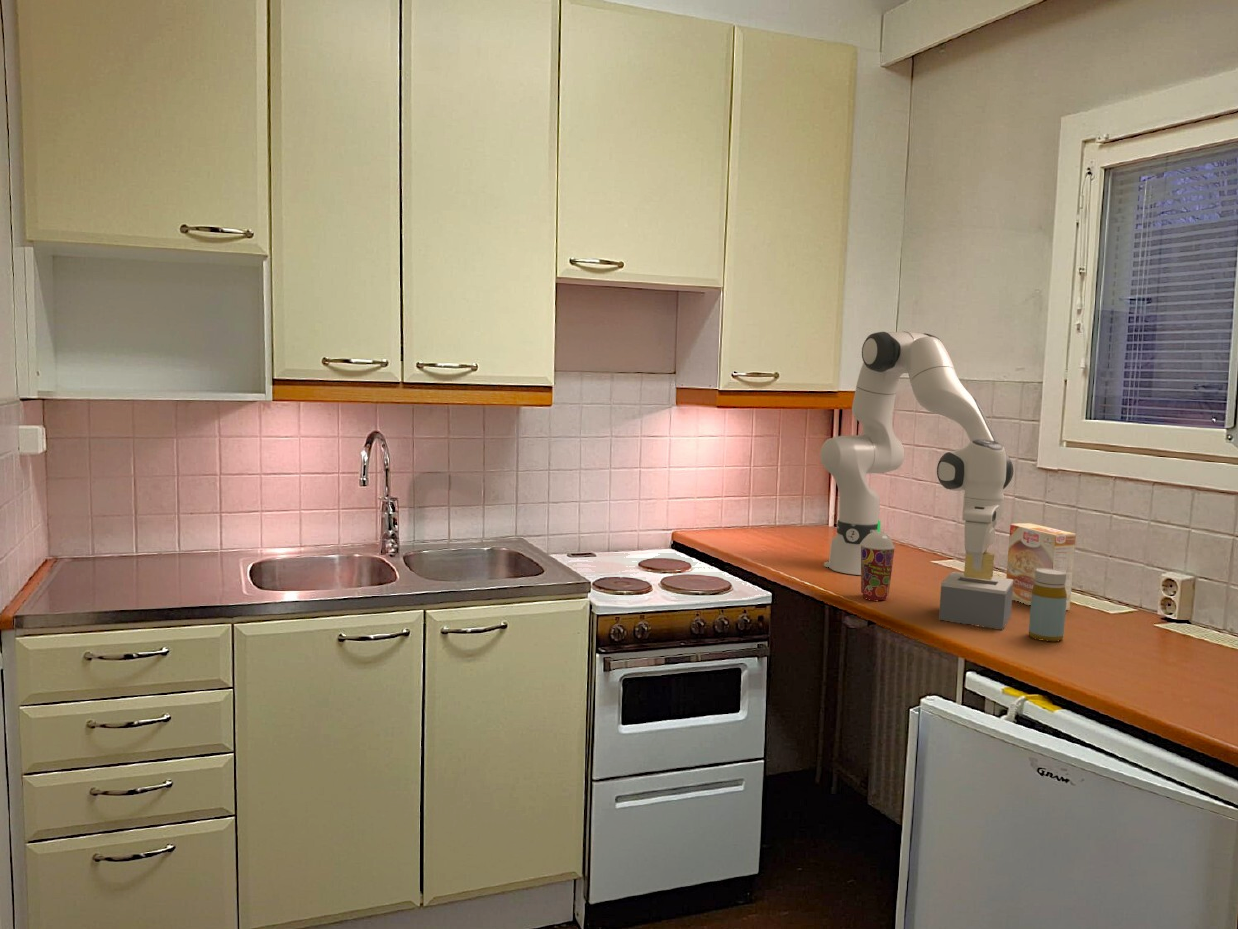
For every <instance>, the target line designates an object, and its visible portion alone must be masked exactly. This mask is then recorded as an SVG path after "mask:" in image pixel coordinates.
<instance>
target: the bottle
mask: <svg viewBox="0 0 1238 929" xmlns="http://www.w3.org/2000/svg"><path fill="white" fill-rule="evenodd" d="M1065 582H1066V572H1064V571H1061V570H1056V569H1048V568H1039V569H1036V571H1035V585H1034V587H1033V589H1032V595H1031V606H1030V607H1029V608H1030V610H1029V621H1028V622H1029V623H1028V635H1029V636H1030V637H1031V636H1032V637H1034V638H1036V639H1035V640H1037V639H1043V640H1048V641H1058V640H1060V641H1061V640H1063V638H1064V633H1065V621H1066V620H1065V619H1066V599H1067V593H1066V590H1065ZM1032 637H1031V638H1032ZM1034 638H1033V639H1034ZM1058 642H1059V641H1058Z"/></svg>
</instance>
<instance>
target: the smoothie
mask: <svg viewBox="0 0 1238 929" xmlns="http://www.w3.org/2000/svg"><path fill="white" fill-rule="evenodd" d="M881 522H882V520H879V521H878V528H877V531H875V532H871V533H869V534H868V535H867V536H866V537H865V538H864V540H863V542H862V543H861V575H860V592H861V593H862V597H863V599H865V598H867V599H870V600H869V601H871V600H884V601H886V600H887V597H888V596H889V595H890V590H891V588H890V586H891V578H892V572H893V563H894V556H895V549H896V546H895V545H894V542H893V540H892V538H891V537H890V536H889V534H887V533H885V532H883V531H881V525H880V523H881ZM867 599H866V600H867Z"/></svg>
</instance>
